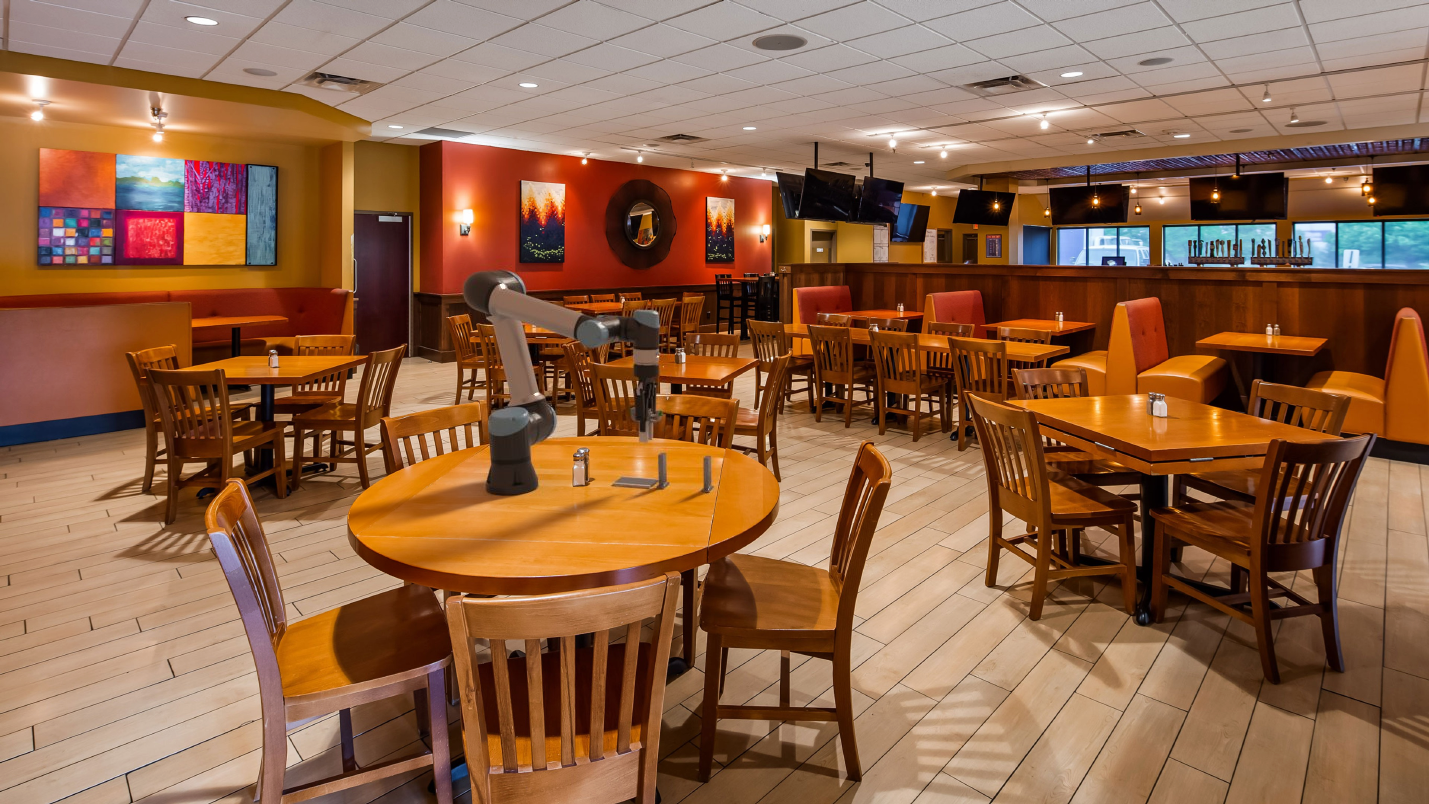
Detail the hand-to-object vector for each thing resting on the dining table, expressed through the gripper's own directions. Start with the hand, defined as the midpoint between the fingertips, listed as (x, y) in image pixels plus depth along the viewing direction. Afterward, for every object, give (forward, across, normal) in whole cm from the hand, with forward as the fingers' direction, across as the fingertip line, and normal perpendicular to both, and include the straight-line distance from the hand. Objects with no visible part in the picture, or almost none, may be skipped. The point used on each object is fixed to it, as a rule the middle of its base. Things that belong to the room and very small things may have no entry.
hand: (645, 440), depth 232 cm
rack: (+13, -1, -13) cm, 18 cm away
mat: (+14, 0, +3) cm, 14 cm away
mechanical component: (+1, 0, 0) cm, 1 cm away
